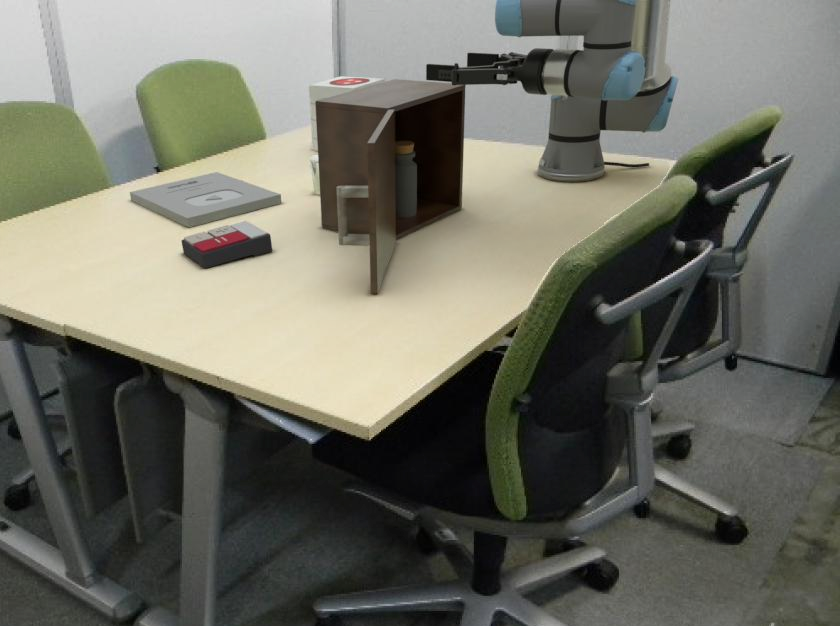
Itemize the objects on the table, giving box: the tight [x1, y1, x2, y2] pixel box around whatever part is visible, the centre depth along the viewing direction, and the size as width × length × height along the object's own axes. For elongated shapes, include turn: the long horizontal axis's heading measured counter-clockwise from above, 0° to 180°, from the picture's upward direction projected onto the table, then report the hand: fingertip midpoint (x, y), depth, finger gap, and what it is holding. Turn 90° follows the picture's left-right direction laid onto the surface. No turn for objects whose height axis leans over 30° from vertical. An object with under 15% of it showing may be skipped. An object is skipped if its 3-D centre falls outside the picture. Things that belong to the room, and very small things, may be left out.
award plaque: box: [129, 171, 282, 228], centre depth 204 cm, size 25×30×2 cm
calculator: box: [181, 220, 273, 269], centre depth 170 cm, size 11×4×15 cm
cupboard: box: [315, 78, 466, 241], centre depth 177 cm, size 18×26×26 cm
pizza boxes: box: [308, 75, 386, 152], centre depth 233 cm, size 19×30×18 cm, turn 31°
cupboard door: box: [337, 110, 397, 295], centre depth 153 cm, size 7×26×26 cm, turn 168°
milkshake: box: [309, 154, 320, 196], centre depth 202 cm, size 5×5×10 cm
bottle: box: [395, 141, 417, 218], centre depth 179 cm, size 6×6×15 cm
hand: (448, 65), depth 161 cm, fingers open, 13 cm apart
